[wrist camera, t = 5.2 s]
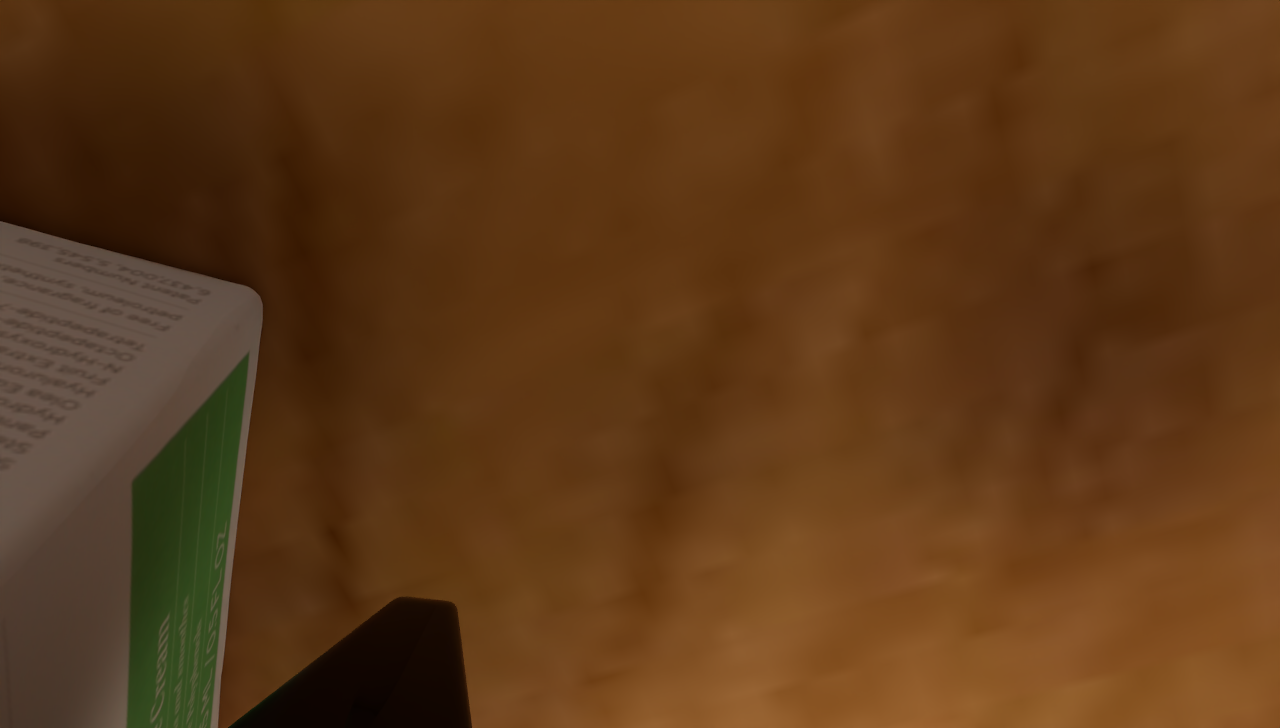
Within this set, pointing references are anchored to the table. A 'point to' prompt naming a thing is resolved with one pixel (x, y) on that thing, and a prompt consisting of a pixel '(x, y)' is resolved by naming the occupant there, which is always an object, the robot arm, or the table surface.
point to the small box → (117, 483)
